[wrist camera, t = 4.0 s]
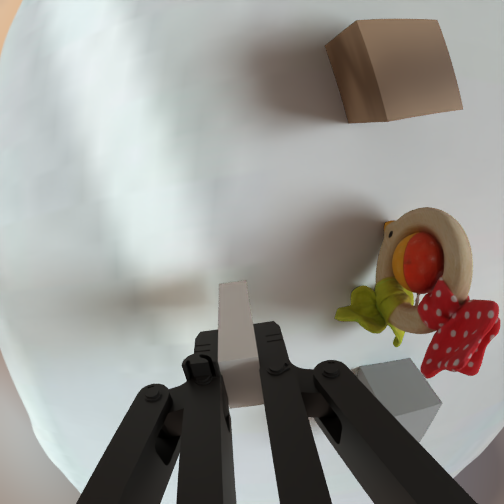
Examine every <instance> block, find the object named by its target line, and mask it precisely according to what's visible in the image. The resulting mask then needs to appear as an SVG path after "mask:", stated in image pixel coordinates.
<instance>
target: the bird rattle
mask: <svg viewBox="0 0 504 504" xmlns="http://www.w3.org/2000/svg"><path fill="white" fill-rule="evenodd" d="M472 273H473V260H472V252H471V247H470V243H469V240H468V238H467V235H466V233H465V231H464V230H463V228H462V227H461V225H460V224H459V223H458V221H457V220H456V219H454V218H453V217H452V216H451V215H449V214H448V213H446V212H444V211H442V210H439V209H435V208H429V207H425V208H418V209H415V210H412V211H409V212H408V213H406V214H404V215H403V216H401V217H400V218H399V219H398V220H397V221H388V222H386V223H385V225H384V239H383V242H382V245H381V248H380V252H379V256H378V261H377V268H376V286H375V292H374V290H372V289H371V288H369V287H367V286H359V287H357V288H356V289H354V290H353V291H352V293H351V305H350V306H346V307H341V308H338V309H337V312H336V315H335V319H336V320H338V321H356V322H358V323H359V324H360V325H361V326H362V327H363V328H364V329H366V330H368V331H369V332H372V333H381V332H382V331H383V330H384V329H385V328H386V326H387V325H389V326H390V327H391V329H392V330H393V332H394V334H395V336H396V337H395V339H394V341H393V345H394V346H395V347H398V346H399V345H400V344H401V342H402V339H403V336H404V333H405V332H409V333H415V334H426V333H431V332H434V331H437V332H436V333H435V334H434V336H433V338H432V341H431V343H430V344H429V346H428V349H427V351H426V354H425V357H424V359H423V362H422V365H421V372H422V374H423V376H424V377H425V378H431V377H433V376H435V375H436V374H437V373H439V372H440V371H442V370H445V369H446V370H449V371H452V372H457V371H458V372H460V373H463V374H466V375H469V376H473V375H475V374H477V373H478V371H479V369H480V366H481V363H482V360H483V356H484V352H485V349H486V347H487V345H488V343H489V342H490V341H491V340H492V339H493V338H494V337H495V336H496V335H497V334H498V332H499V329H500V319H499V318H498V314H499V307H498V304H497V303H495V302H494V301H489V300H470V299H469V296H468V293H469V290H470V285H471V280H472ZM412 292H414V293H417V298H416V300H415V306H413V304H414V300H413V293H412ZM425 293H428V294H426V295H425V296H424V298H423V299H422V301H421V302H420V303H419V295H420V294H425ZM418 303H419V305H418Z"/></svg>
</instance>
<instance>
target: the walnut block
mask: <svg viewBox="0 0 504 504" xmlns="http://www.w3.org/2000/svg"><path fill="white" fill-rule="evenodd" d="M325 48H326V51H327V54H328V57H329V60H330V63H331V66H332V69H333V72H334V75H335V78H336V81H337V85H338V88H339V91H340V95H341V98H342V101H343V105H344V108H345V112H346V116H347V119H348V123H367V122H389V121H394V120H399V119H405V118H410V117H416V116H422V115H428V114H434V113H441V112H448V111H455V110H462V109H463V106H462V101H461V97H460V92H459V88H458V84H457V80H456V77H455V73H454V69H453V66H452V62H451V59H450V56H449V52H448V49H447V46H446V43H445V40H444V37H443V34H442V31H441V29H440V26H439V23H438V21H437V20H428V19H372V20H356V21H355V22H354V23H352V24H351V25H350V26H349V27H347V28H346V29H345V30H343V31H342V32H341V33H340V34H338V35H337V36H336V37H335V38H334V39H332V40H331V41H330V42H329V43H327V44H326V45H325Z"/></svg>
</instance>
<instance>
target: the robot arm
mask: <svg viewBox="0 0 504 504" xmlns="http://www.w3.org/2000/svg"><path fill="white" fill-rule="evenodd" d="M182 368H183V371H184V374H185V376H186V379H187V382H185V383H184V384H182V385H180V386H178V387H175V388H171V389H168V388H167V387H166V386H164V385H162V384H151V385H147V386H145V387H144V388H142V389H141V390H140V392H139V393H138V394H137V396H136V398H135V400H134V401H133V403H132V405H131V406H130V408H129V410H128V412H127V413H126V415H125V417H124V419H123V420H122V422H121V424H120V426H119V427H118V429H117V431H116V433H115V434H114V436H113V438H112V440H111V442H110V443H109V445H108V447H107V449H106V450H105V452H104V454H103V456H102V458H101V459H100V461H99V463H98V465H97V467H96V468H95V470H94V472H93V474H92V476H91V477H90V479H89V481H88V483H87V485H86V487H85V488H84V490H83V492H82V494H81V496H80V498H79V500H78V501H77V503H76V504H160V502H161V500H162V497H163V495H164V492H165V490H166V487H167V484H168V482H169V479H170V477H171V474H172V471H173V469H174V466H175V464H176V461H177V458H178V456H179V453H180V458H179V472H178V487H177V504H236V492H235V477H234V462H233V446H232V429H231V417H230V413H229V407H230V408H239V407H247V406H255V405H262V404H264V406H265V412H266V419H267V425H268V431H269V438H270V444H271V450H272V457H273V463H274V469H275V475H276V481H277V488H278V494H279V500H280V504H332V502H331V498H330V495H329V491H328V487H327V484H326V480H325V477H324V473H323V469H322V466H321V462H320V459H319V455H318V452H317V448H316V444H315V441H314V437H313V434H312V430H311V427H310V423H309V420H308V417H314V419H315V421H316V422H317V424H318V425H319V427H320V428H321V430H322V431H323V432H324V434H325V435H326V437H327V438H328V440H329V441H330V443H331V444H332V445H333V447H334V448H335V450H336V451H337V453H338V454H339V455H340V457H341V458H342V460H343V461H344V462H345V464H346V465H347V467H348V468H349V469H350V471H351V472H352V474H353V475H354V476H355V478H356V479H357V481H358V482H359V483H360V485H361V486H362V487H363V489H364V490H365V492H366V493H367V494H368V496H369V497H370V498H371V500H372V501H373V502H374V504H477V503H476V502H475V501H474V500H473V499H472V498H471V497H470V496H469V495H468V494H467V493H466V492H465V491H464V489H463V488H462V487H461V486H460V485H459V484H458V483H457V482H456V481H455V480H454V479H453V478H452V477H451V476H450V475H449V474H448V473H447V472H446V471H445V470H444V469H443V468H442V467H441V466H440V464H439V463H438V462H437V461H436V460H435V459H434V458H433V457H432V456H431V455H430V454H429V453H428V452H427V451H426V450H425V449H424V448H423V447H422V446H421V445H420V444H419V442H418V441H417V440H416V439H415V438H414V437H413V436H412V435H411V434H410V433H409V432H408V431H407V430H406V429H405V428H404V427H403V426H402V425H401V423H400V422H399V421H398V420H397V419H396V418H395V417H394V416H393V415H392V414H391V413H390V412H389V411H388V410H387V409H386V408H385V407H384V405H383V404H382V403H381V402H380V401H379V400H378V399H377V398H376V397H375V396H374V395H373V394H372V393H371V392H370V391H369V390H368V388H367V387H366V386H365V385H364V384H363V383H362V382H361V381H360V380H359V379H358V378H357V377H356V376H355V375H354V374H353V372H352V371H351V370H350V369H349V368H348V367H347V366H346V365H345V364H343V363H342V362H339V361H336V360H327V361H323V362H321V363H319V364H317V366H316V367H315V368H314V369H302V368H298V367H296V366H294V365H293V364H292V363H291V362H290V360H289V357H288V354H287V350H286V347H285V343H284V340H283V336H282V333H281V329H280V326H279V325H278V324H276V323H275V322H274V321H271V322H264V323H258V324H253V320H252V314H251V308H250V301H249V295H248V288H247V282H246V280H244V281H237V282H230V283H223V284H219V311H218V330H211V331H203V332H200V333H199V334H198V336H197V337H196V339H195V348H194V354H192V355H190V356H188V357H187V358H186V359H185V360H184V361H183V363H182Z"/></svg>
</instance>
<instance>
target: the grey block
mask: <svg viewBox="0 0 504 504" xmlns="http://www.w3.org/2000/svg"><path fill="white" fill-rule="evenodd" d="M357 378H358V379H359V380H360V381H361V382H362V383H363V384H364V385H365V386H366V387H367V388H368V390H369V391H370V392H371V393H372V394H373V395H374V396H375V397H376V398H377V399H378V400H379V401H380V402H381V403H382V404H383V405H384V407H385V408H386V409H387V410H388V411H389V412H390V413H391V414H392V415H393V416H394V417H395V418H396V419H397V420H398V421H399V422H400V423H401V425H402V426H403V427H404V428H405V429H406V430H407V431H408V432H409V433H410V434H411V435H412V436H413V437H414V438H415V439H416V440H417V441H418V442H420V441H421V439H422V438H423V436H424V434H425V433H426V431H427V429H428V428H429V426H430V424H431V423H432V421H433V419H434V417H435V416H436V414H437V412H438V410H439V408H440V406H441V405H442V402H441V400H440V399H439V398H438V396H437V395H436V393H435V392H434V390H433V389H432V388H431V386H430V385H429V383H428V382H427V381H426V379H425V378H424V376H423V375H422V374H421V372H420V371H419V369H418V368H417V367H416V365H415V364H414V363H413V361H412V360H411V358H407V359H402V360H396V361H390V362H385V363H378V364H372V365H365V366H360V368H359V371H358V375H357Z"/></svg>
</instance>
